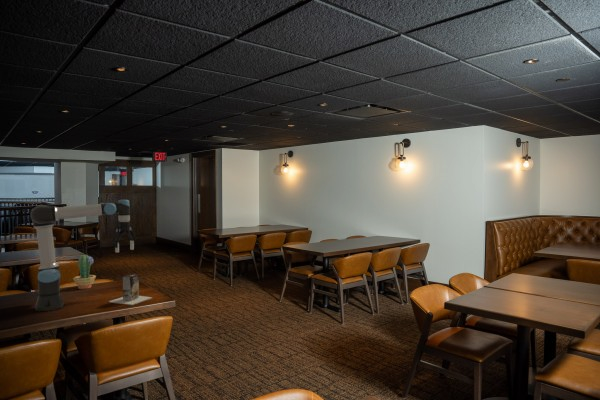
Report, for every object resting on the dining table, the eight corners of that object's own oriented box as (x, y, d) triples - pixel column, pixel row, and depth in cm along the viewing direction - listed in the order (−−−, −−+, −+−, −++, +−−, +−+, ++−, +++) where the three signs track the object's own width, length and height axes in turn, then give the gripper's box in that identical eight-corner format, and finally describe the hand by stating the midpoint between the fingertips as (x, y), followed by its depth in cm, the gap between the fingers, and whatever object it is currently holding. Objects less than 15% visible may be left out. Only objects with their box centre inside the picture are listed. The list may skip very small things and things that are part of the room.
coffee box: (131, 301, 264) (131, 277, 264) (122, 300, 265) (122, 276, 265) (139, 297, 273) (138, 274, 273) (130, 297, 274) (130, 274, 274)
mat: (108, 302, 264) (108, 301, 264) (129, 295, 281) (129, 294, 281) (132, 305, 257) (132, 304, 257) (152, 298, 274) (152, 297, 274)
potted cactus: (80, 290, 296) (79, 257, 296) (69, 288, 304) (68, 255, 304) (100, 286, 309) (99, 254, 309) (88, 284, 318) (88, 252, 317)
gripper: (133, 220, 298) (133, 248, 299) (105, 222, 275) (106, 253, 276) (141, 220, 296) (141, 248, 296) (114, 222, 272) (114, 253, 273)
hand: (124, 251), depth 286 cm, fingers open, 13 cm apart
